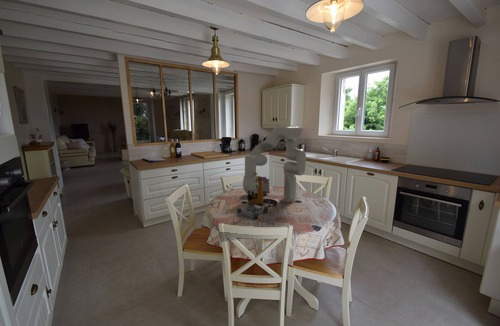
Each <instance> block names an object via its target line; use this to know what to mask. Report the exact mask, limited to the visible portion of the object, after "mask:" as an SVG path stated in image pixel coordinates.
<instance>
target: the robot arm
mask: <svg viewBox="0 0 500 326" xmlns="http://www.w3.org/2000/svg"><path fill="white" fill-rule="evenodd" d="M301 135H302V129H301V128H300V126H295V125H293V126H290V125H286V126H285V125H284V126H275V127H273V129H272V130H271V132H270V133H269V134H268V135H267V138H265V140H264V141H262V142H260V143H259V144H257V145H256V146H255V147H254V148H253V149H252V150H251V151H250V153H249V154H248V155H245V157H244V176H243V179H242V180H243V181H242V189H243V191H244V192H245V193H246V192H247V193H246V194H247V201H248V200H249V201H250V200H252V199H253V194H254V193H257V190H258V178H257V176H258V173H257V167H259V166H260V167H262V166H264V165H266V164H267V163H268V158H267V156H266V155H265V154H262V153H264V152H267V151H270V150H273V149H275V148H276V146H277V145H278V143H280V141H281V139H283V140H285V157H286V159H287V160H288V161H286V162H284V164H283V174H284V177H283V178H284V179H283V180H284V181H283V196H282V197H281V200H282V201H283V202H287V203H295V202H297V201H298V197H297V196H296V195H297V177H296V176H303V175H304V174H305V171H306V160H307V155H306V154H307V153H306V152H305V150H304V149H302V148H298V140H297V139H298V138H300V137H301Z"/></svg>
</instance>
